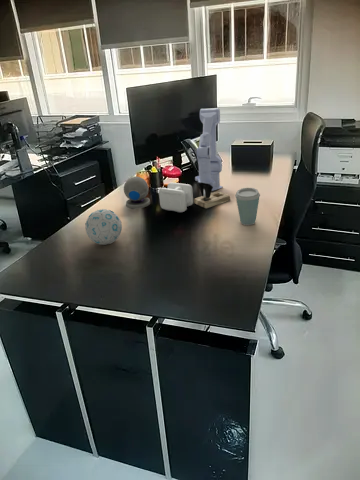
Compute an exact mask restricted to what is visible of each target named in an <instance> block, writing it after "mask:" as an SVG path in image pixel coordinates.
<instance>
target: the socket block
mask: <svg viewBox="0 0 360 480" xmlns="http://www.w3.org/2000/svg"><path fill="white" fill-rule="evenodd" d="M228 201H229V202H230V201H231V195H230V194H227V193H225V192H221V191H219V190H217V191H216V190H215V191H212V192H211V195H210V197H209V200H208V201H203V196H202V195H201V196H198V197H196V198H193V204H196V205H197V206H199V207H201V208H204V209H209V208H211V207H214V206H217V205H220V204H223V203H225V202H226V203H227V202H228Z"/></svg>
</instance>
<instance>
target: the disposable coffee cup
mask: <svg viewBox="0 0 360 480" xmlns="http://www.w3.org/2000/svg"><path fill="white" fill-rule="evenodd" d="M234 197H235V201H236V206H237V210H238V217H239V221H240V224H242V225H243V226H252V225H254V224H255V223H256V221H257V217H258V216H257V215H258V209H259V203H260V197H261V193H260V192H259V190H258V189H257V188H255V187H243V188H239V189H238V190H237V191H236V193H235V196H234Z"/></svg>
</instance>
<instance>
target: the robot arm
mask: <svg viewBox="0 0 360 480" xmlns="http://www.w3.org/2000/svg"><path fill="white" fill-rule="evenodd" d="M199 120H200V122H201V123H202V134H200V136H199V142H198V147H197V148H196V157H197V158H196V159H197V163H198V175H197V176H195V177H194V180H195V181H196V182H197V183H196V185H197V187H198V189H199V191H200V195H201V196H203V187H204V189H205V195H206V198H209V197H210V195H211V193H212V192H215V191H216V190H217V191H218V190H220V189H223V188H224V186H222V185H221V183H220V182H221V181H220V173H221V172H222V171H223V170H222V169H223V163H222V161H223V160H222V158H221V156H219V155H217V125H218V124H220V122H221V110H220V108H219V107H214V108H213V107H212V108H211V107H210V108H200V110H199Z"/></svg>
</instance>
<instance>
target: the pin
mask: <svg viewBox="0 0 360 480" xmlns="http://www.w3.org/2000/svg"><path fill="white" fill-rule="evenodd" d="M208 200H209V198H206V195H205V189H204V187H203V201H208Z"/></svg>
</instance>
